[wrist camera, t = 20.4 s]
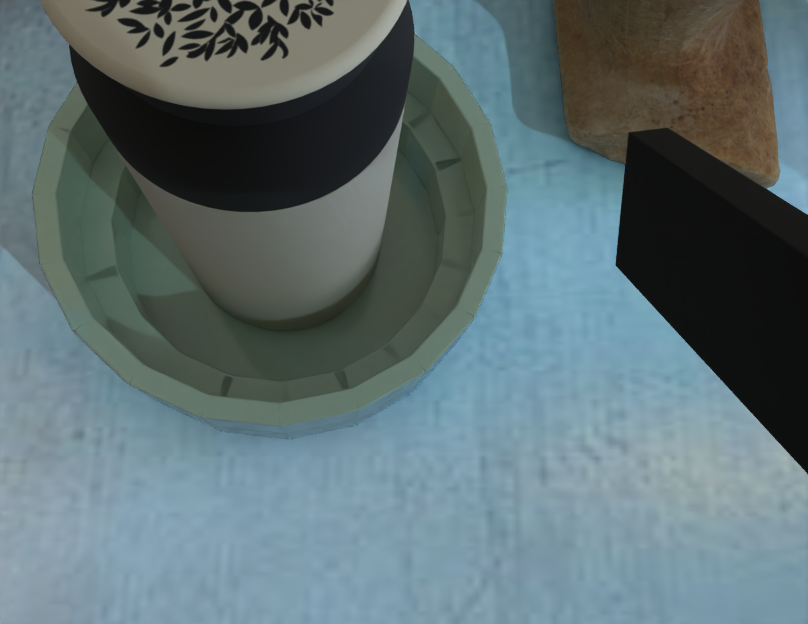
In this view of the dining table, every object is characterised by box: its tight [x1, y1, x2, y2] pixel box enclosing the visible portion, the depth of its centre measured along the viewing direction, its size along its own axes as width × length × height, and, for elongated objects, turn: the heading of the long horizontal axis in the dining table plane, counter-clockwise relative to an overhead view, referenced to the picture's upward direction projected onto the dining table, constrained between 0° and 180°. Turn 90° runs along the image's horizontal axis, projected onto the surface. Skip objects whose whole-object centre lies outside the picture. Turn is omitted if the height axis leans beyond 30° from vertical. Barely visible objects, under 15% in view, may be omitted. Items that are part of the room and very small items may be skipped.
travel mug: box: [40, 0, 414, 330], centre depth 23 cm, size 8×8×18 cm
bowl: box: [32, 34, 507, 439], centre depth 30 cm, size 17×17×6 cm
